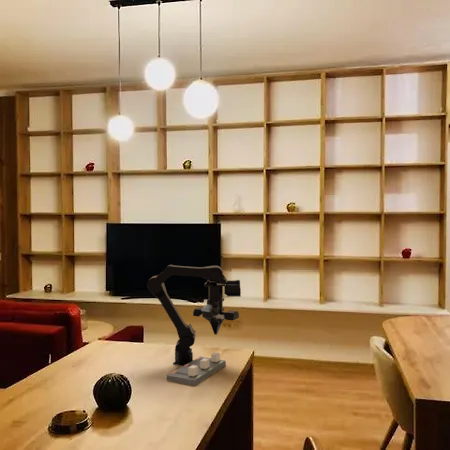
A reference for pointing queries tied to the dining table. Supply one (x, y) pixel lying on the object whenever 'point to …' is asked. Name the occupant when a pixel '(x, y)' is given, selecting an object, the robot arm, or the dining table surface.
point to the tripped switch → (192, 370)
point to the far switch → (215, 357)
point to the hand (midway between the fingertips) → (215, 334)
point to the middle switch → (204, 363)
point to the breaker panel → (184, 378)
